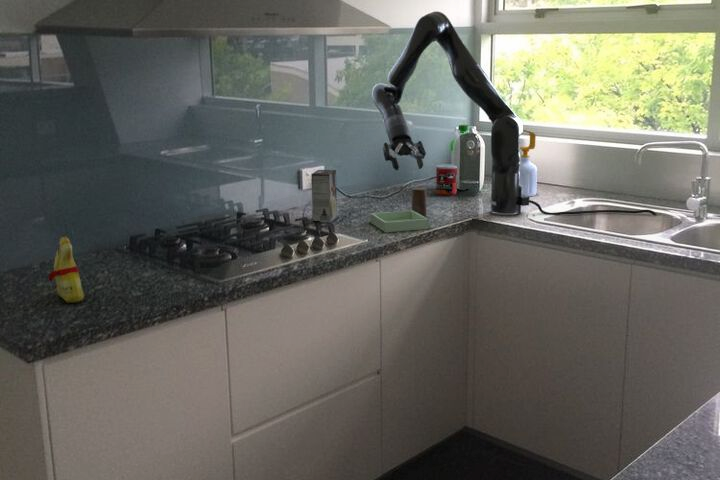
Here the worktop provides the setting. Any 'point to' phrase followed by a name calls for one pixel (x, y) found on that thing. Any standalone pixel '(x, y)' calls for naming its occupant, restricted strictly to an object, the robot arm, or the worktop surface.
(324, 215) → the coffee box
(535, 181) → the soap bottle
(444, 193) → the canned food
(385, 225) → the tray
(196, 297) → the worktop surface
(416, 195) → the pepper mill
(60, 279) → the chocolate bunny
